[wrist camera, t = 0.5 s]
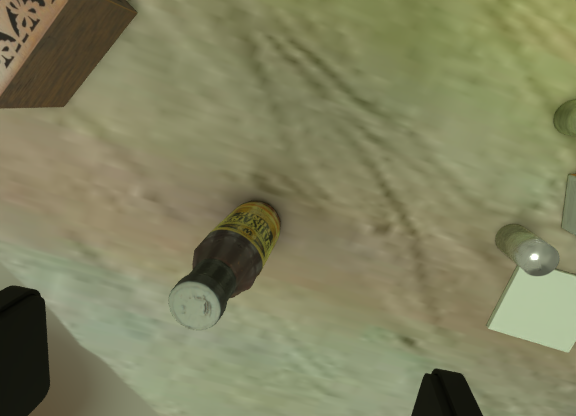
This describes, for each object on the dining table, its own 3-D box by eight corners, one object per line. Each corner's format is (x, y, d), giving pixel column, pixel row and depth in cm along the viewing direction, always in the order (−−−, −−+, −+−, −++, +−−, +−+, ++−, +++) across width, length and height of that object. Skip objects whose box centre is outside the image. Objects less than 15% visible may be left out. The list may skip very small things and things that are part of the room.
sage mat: (520, 258, 42) (523, 260, 42) (605, 283, 42) (609, 286, 42) (486, 325, 45) (488, 328, 45) (565, 349, 45) (568, 352, 44)
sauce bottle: (291, 216, 44) (261, 304, 25) (264, 255, 46) (217, 363, 27) (246, 186, 44) (180, 252, 25) (221, 226, 46) (142, 316, 27)
